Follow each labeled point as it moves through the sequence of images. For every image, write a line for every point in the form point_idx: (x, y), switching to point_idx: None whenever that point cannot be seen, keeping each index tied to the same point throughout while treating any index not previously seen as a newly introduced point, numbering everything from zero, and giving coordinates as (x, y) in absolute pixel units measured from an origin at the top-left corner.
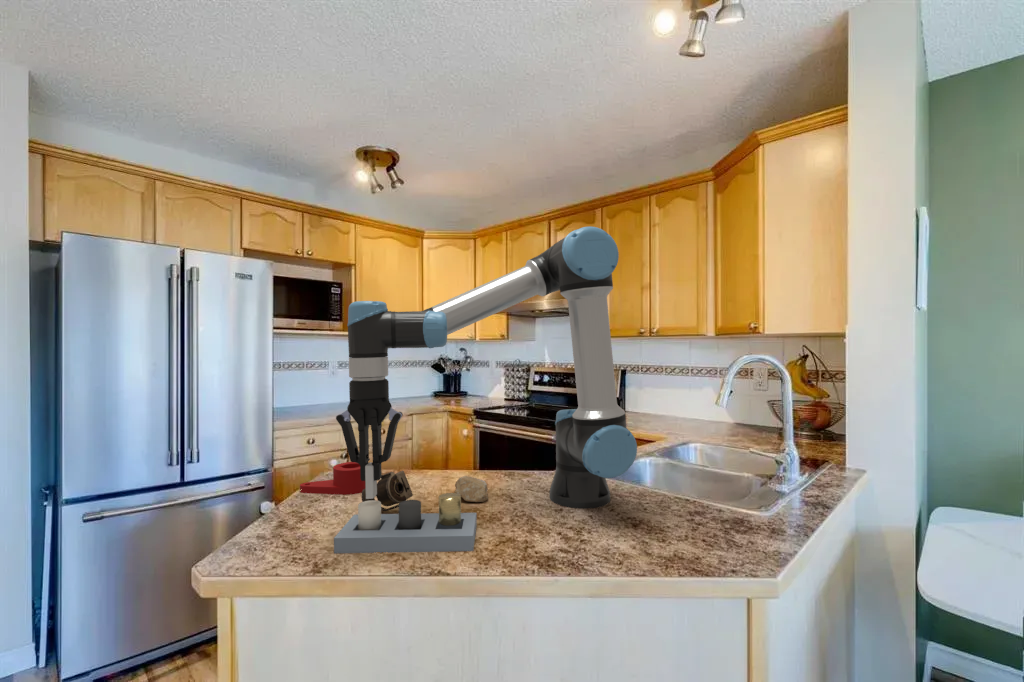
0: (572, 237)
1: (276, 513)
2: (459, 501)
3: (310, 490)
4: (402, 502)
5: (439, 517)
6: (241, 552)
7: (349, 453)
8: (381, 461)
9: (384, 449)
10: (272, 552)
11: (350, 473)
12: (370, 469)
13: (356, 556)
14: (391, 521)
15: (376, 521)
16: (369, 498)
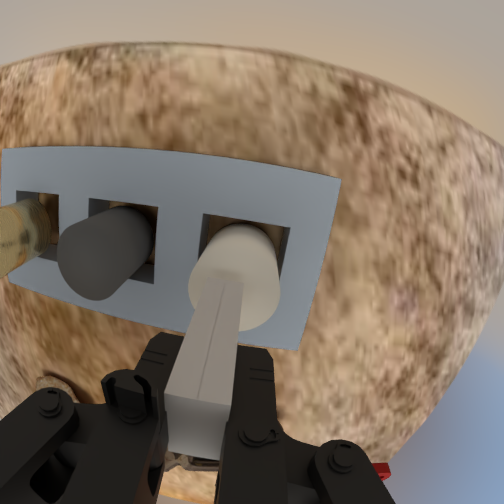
0: None
1: (434, 403)
2: None
3: (375, 468)
4: (111, 279)
5: (38, 221)
6: (493, 243)
7: (384, 500)
8: (95, 410)
9: (14, 462)
10: (455, 228)
11: None
12: (190, 376)
13: (267, 148)
14: (175, 276)
15: (211, 241)
16: (226, 280)
